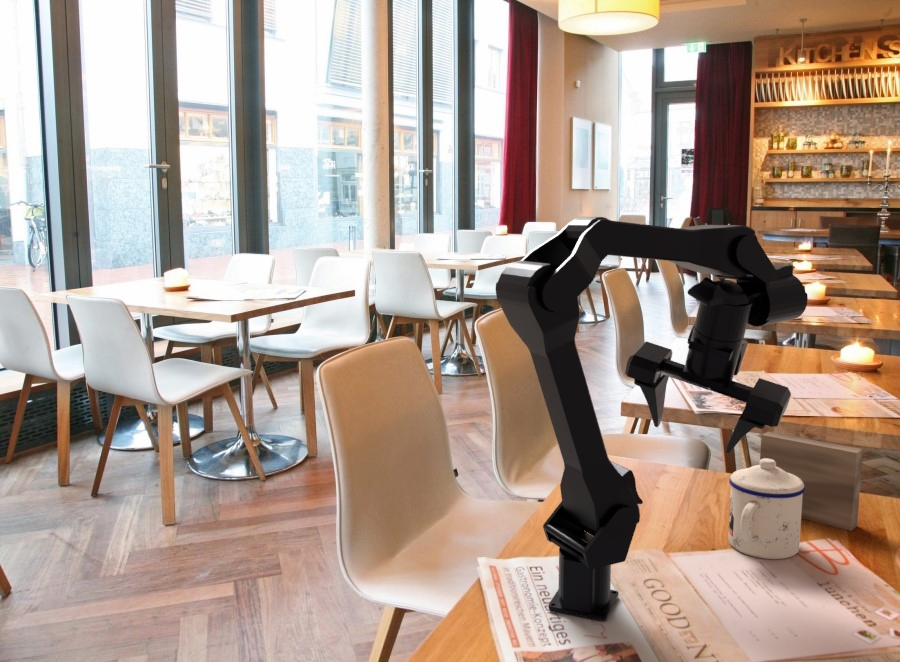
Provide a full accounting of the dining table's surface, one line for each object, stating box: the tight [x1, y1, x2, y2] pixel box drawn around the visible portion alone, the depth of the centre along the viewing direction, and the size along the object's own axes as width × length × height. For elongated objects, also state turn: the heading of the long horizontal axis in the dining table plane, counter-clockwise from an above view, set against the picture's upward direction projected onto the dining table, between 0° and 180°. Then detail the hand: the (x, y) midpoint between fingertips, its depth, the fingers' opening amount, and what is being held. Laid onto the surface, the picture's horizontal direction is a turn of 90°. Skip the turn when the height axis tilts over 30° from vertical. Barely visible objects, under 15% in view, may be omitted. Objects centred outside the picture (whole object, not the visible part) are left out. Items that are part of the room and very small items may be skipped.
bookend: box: [759, 431, 864, 532], centre depth 113 cm, size 2×13×11 cm, turn 46°
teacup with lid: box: [727, 458, 805, 560], centre depth 102 cm, size 12×9×12 cm
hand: (691, 438), depth 101 cm, fingers open, 9 cm apart
